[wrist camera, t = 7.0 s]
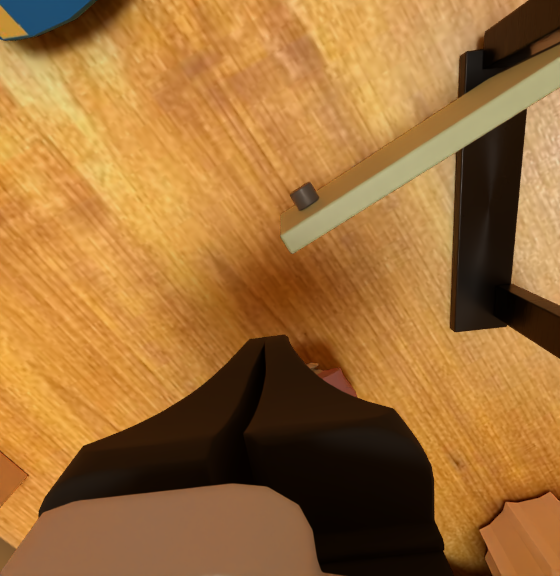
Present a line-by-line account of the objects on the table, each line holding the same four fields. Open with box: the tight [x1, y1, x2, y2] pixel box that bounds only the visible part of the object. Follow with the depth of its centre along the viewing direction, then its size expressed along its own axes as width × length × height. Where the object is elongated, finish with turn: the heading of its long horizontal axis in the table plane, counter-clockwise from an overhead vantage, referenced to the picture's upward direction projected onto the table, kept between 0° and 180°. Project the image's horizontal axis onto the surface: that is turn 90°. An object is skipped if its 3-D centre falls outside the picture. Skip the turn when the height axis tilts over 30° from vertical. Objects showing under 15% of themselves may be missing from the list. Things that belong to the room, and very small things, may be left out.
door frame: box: [450, 0, 560, 359], centre depth 15 cm, size 16×3×9 cm, turn 7°
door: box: [280, 42, 560, 254], centre depth 14 cm, size 13×2×7 cm, turn 123°
